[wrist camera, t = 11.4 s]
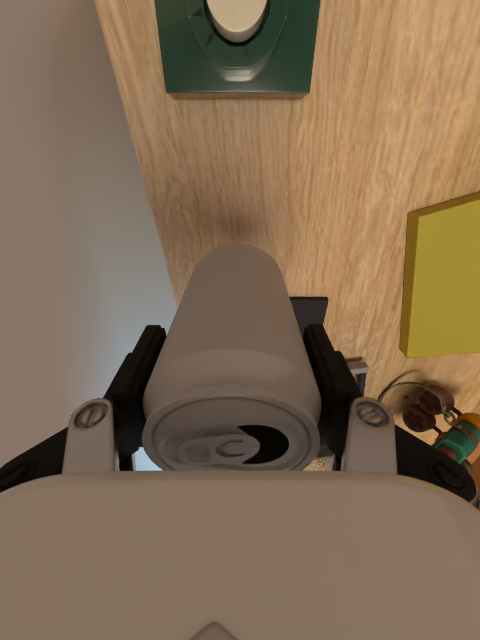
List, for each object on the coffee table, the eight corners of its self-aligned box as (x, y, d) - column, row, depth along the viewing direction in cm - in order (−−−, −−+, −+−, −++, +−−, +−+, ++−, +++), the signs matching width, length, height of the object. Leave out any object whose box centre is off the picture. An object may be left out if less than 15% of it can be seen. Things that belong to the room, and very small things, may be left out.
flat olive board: (407, 212, 29) (398, 359, 42) (419, 217, 27) (406, 368, 40) (529, 176, 27) (480, 342, 40) (550, 178, 25) (491, 351, 38)
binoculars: (385, 405, 54) (462, 471, 44) (344, 432, 47) (423, 517, 37) (421, 358, 46) (524, 425, 36) (377, 381, 39) (490, 473, 29)
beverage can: (281, 318, 19) (323, 494, 10) (199, 323, 20) (158, 498, 10) (282, 235, 16) (352, 379, 6) (183, 243, 16) (91, 392, 6)
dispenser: (173, 98, 23) (159, 88, 19) (155, -65, 18) (130, -128, 14) (302, 99, 23) (315, 88, 19) (320, -65, 18) (343, -128, 14)
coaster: (247, 354, 41) (247, 358, 41) (249, 296, 35) (249, 299, 34) (313, 355, 41) (315, 358, 41) (327, 297, 35) (328, 299, 34)
